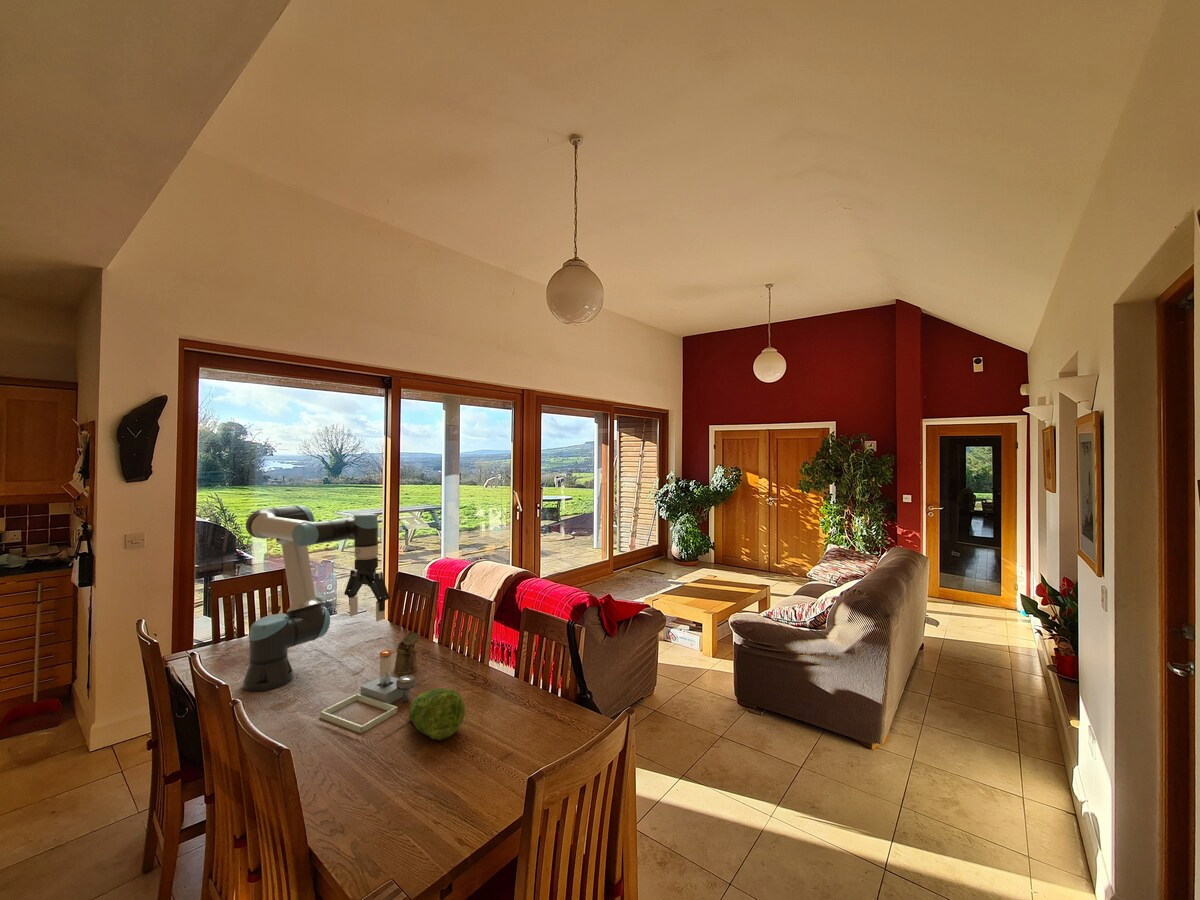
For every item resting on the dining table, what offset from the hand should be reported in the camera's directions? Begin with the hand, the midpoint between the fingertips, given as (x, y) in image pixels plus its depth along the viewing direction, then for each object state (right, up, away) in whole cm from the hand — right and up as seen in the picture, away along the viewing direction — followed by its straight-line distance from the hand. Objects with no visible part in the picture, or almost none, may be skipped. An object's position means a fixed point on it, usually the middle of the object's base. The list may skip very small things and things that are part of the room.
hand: (366, 617), depth 174 cm
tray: (+6, -26, -17) cm, 32 cm away
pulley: (+17, -26, -8) cm, 32 cm away
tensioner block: (+9, -26, -4) cm, 28 cm away
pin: (+9, -25, -4) cm, 27 cm away
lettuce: (+31, -27, -22) cm, 46 cm away
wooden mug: (+9, -27, +14) cm, 32 cm away
